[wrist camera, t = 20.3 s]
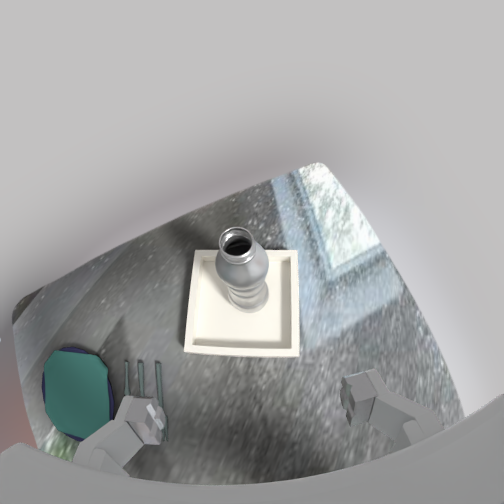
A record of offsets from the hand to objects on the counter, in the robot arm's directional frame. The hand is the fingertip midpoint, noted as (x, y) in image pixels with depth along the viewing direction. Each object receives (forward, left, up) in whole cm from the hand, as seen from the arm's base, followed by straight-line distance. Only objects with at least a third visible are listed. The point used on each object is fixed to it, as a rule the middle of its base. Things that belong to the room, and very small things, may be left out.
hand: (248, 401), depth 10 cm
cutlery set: (-8, +31, -34) cm, 47 cm away
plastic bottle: (+14, +3, -33) cm, 36 cm away
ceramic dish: (+13, +4, -33) cm, 36 cm away
